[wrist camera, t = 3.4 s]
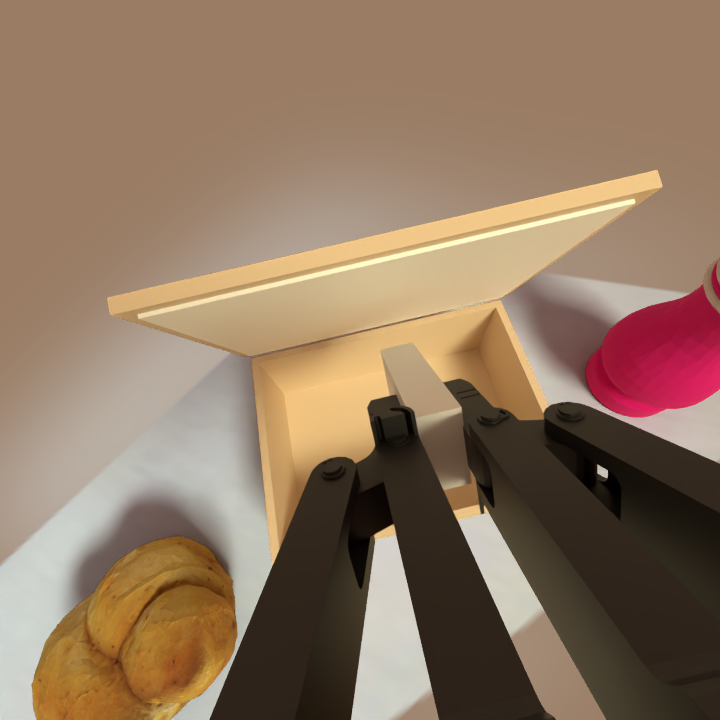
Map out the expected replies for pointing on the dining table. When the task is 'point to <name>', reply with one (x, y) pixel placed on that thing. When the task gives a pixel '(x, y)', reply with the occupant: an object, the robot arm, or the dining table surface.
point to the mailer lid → (381, 274)
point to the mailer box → (368, 382)
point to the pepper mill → (661, 354)
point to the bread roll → (140, 638)
